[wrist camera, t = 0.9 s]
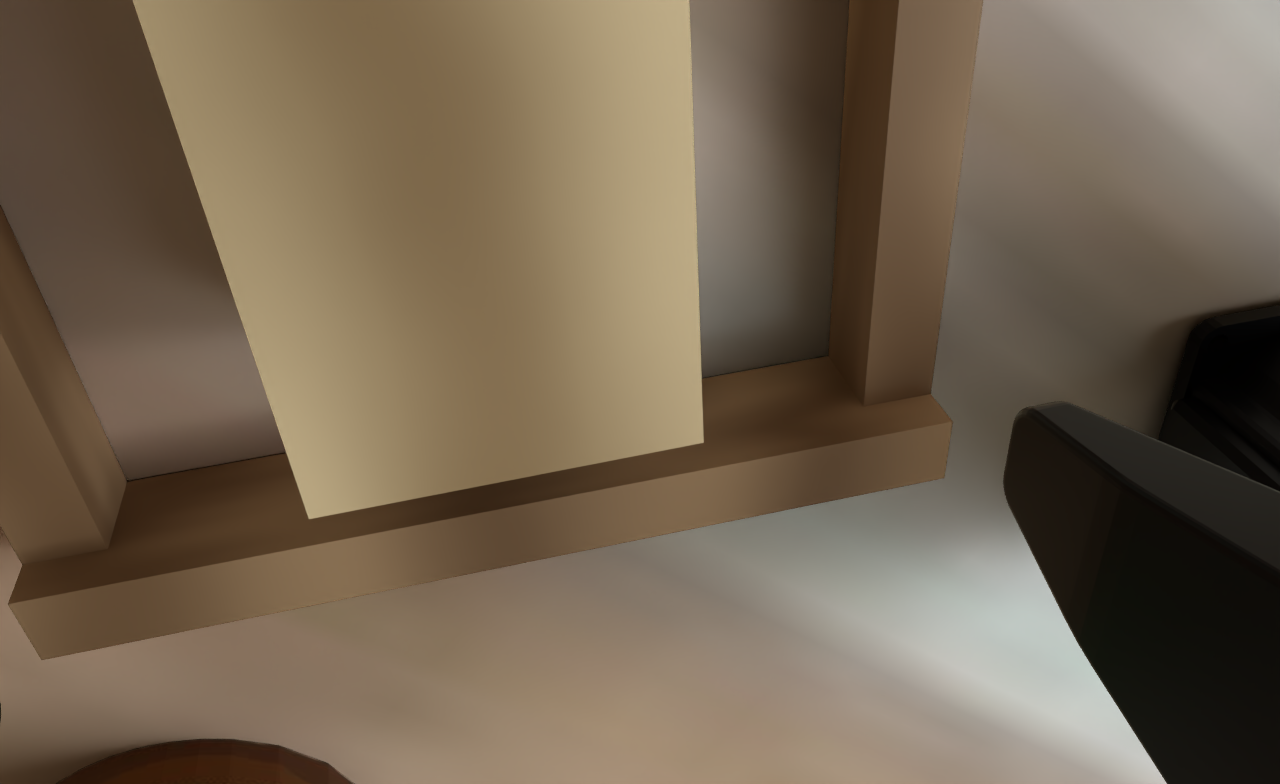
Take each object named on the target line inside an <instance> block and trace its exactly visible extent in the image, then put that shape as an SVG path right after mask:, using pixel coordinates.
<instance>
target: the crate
mask: <svg viewBox="0 0 1280 784" xmlns="http://www.w3.org/2000/svg"><path fill="white" fill-rule="evenodd" d="M133 3H134V6H135V9H136V12H137V15H138V18H139V21H140V24H141V27H142V30H143V33H144V35H145V38H146V41H147V44H148V47H149V50H150V53H151V56H152V59H153V62H154V65H155V68H156V71H157V74H158V77H159V80H160V83H161V85H162V88H163V91H164V94H165V97H166V100H167V103H168V106H169V109H170V112H171V115H172V118H173V121H174V124H175V127H176V130H177V133H178V135H179V138H180V141H181V144H182V147H183V150H184V153H185V156H186V159H187V162H188V165H189V168H190V171H191V174H192V177H193V180H194V183H195V186H196V188H197V191H198V194H199V197H200V200H201V203H202V206H203V209H204V212H205V215H206V218H207V221H208V224H209V227H210V230H211V233H212V236H213V238H214V241H215V244H216V247H217V250H218V253H219V256H220V259H221V262H222V265H223V268H224V271H225V274H226V277H227V280H228V283H229V286H230V288H231V291H232V294H233V297H234V300H235V303H236V306H237V309H238V312H239V315H240V318H241V321H242V324H243V327H244V330H245V333H246V336H247V339H248V341H249V344H250V347H251V350H252V353H253V356H254V359H255V362H256V365H257V368H258V371H259V374H260V377H261V380H262V383H263V386H264V389H265V391H266V394H267V397H268V400H269V403H270V406H271V409H272V412H273V415H274V418H275V421H276V424H277V427H278V430H279V433H280V436H281V439H282V441H283V444H284V447H285V450H286V453H287V456H288V459H289V462H290V465H291V468H292V471H293V474H294V477H295V480H296V483H297V486H298V489H299V491H300V494H301V497H302V500H303V503H304V506H305V509H306V512H307V515H308V518H309V519H313V518H318V517H323V516H328V515H334V514H339V513H344V512H349V511H354V510H359V509H365V508H370V507H375V506H380V505H385V504H390V503H395V502H401V501H406V500H411V499H416V498H421V497H426V496H432V495H437V494H442V493H447V492H452V491H457V490H462V489H468V488H473V487H478V486H483V485H488V484H493V483H499V482H504V481H509V480H514V479H519V478H524V477H530V476H535V475H540V474H545V473H550V472H555V471H560V470H566V469H571V468H576V467H581V466H586V465H591V464H597V463H602V462H607V461H612V460H617V459H622V458H627V457H633V456H638V455H643V454H648V453H653V452H658V451H664V450H669V449H674V448H679V447H684V446H689V445H695V444H700V443H704V437H703V406H702V375H701V344H700V314H699V283H698V252H697V221H696V191H695V160H694V129H693V98H692V68H691V37H690V6H689V0H133Z"/></svg>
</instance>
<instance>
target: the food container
mask: <svg viewBox="0 0 1280 784" xmlns="http://www.w3.org/2000/svg"><path fill="white" fill-rule="evenodd" d="M56 784H354V783H353V782H352V781H350V780H349V779H348V778H346V777H345V776H344V775H342V774H341V773H340V772H339V771H337V770H336V769H335V768H333V767H332V766H331V765H329V764H328V763H326V762H323V761H320V760H317V759H315V758H312V757H309V756H306V755H303V754H301V753H298V752H295V751H292V750H290V749H287V748H284V747H281V746H278V745H270V744H263V743H255V742H248V741H240V740H231V739H199V740H188V741H178V742H168V743H163V744H158V745H153V746H148V747H142V748H137V749H134V750H131V751H127V752H124V753H121V754H118V755H114V756H111V757H108V758H105V759H103V760H101V761H98V762H96V763H94V764H92V765H89V766H87V767H85V768H82V769H80V770H78V771H77V772H75V773H73V774H72V775H70V776H68V777H67V778H65V779H63V780H61V781H60V782H58V783H56Z"/></svg>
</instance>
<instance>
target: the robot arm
mask: <svg viewBox="0 0 1280 784" xmlns="http://www.w3.org/2000/svg"><path fill="white" fill-rule="evenodd" d="M1003 484H1004V492H1005V496H1006V500H1007V502H1008V505H1009V507H1010V509H1011V511H1012V513H1013V515H1014V517H1015V519H1016V521H1017V523H1018V525H1019V527H1020V529H1021V531H1022V533H1023V535H1024V537H1025V539H1026V541H1027V543H1028V545H1029V547H1030V549H1031V551H1032V554H1033V556H1034V558H1035V560H1036V562H1037V564H1038V566H1039V568H1040V570H1041V572H1042V574H1043V576H1044V578H1045V580H1046V582H1047V584H1048V586H1049V588H1050V590H1051V592H1052V594H1053V596H1054V598H1055V600H1056V602H1057V604H1058V606H1059V608H1060V610H1061V612H1062V614H1063V616H1064V618H1065V620H1066V622H1067V624H1068V626H1069V628H1070V629H1071V631H1072V633H1073V635H1074V637H1075V639H1076V641H1077V642H1078V644H1079V646H1080V647H1081V649H1082V651H1083V652H1084V654H1085V656H1086V657H1087V659H1088V661H1089V662H1090V664H1091V666H1092V667H1093V669H1094V670H1095V672H1096V673H1097V675H1098V677H1099V678H1100V680H1101V681H1102V683H1103V684H1104V686H1105V687H1106V689H1107V691H1108V692H1109V694H1110V695H1111V697H1112V698H1113V700H1114V702H1115V703H1116V705H1117V706H1118V708H1119V709H1120V711H1121V712H1122V714H1123V716H1124V717H1125V719H1126V720H1127V722H1128V723H1129V725H1130V727H1131V728H1132V730H1133V731H1134V733H1135V734H1136V736H1137V737H1138V739H1139V741H1140V742H1141V744H1142V745H1143V747H1144V748H1145V750H1146V752H1147V753H1148V755H1149V756H1150V758H1151V759H1152V761H1153V762H1154V764H1155V766H1156V767H1157V769H1158V770H1159V772H1160V773H1161V775H1162V777H1163V778H1164V780H1165V781H1166V783H1167V784H1280V305H1278V306H1272V307H1267V308H1262V309H1256V310H1251V311H1245V312H1240V313H1234V314H1229V315H1224V316H1218V317H1213V318H1210V319H1207V320H1205V321H1203V322H1202V323H1200V324H1199V325H1197V327H1196V328H1195V329H1194V330H1193V331H1192V333H1191V335H1190V337H1189V339H1188V342H1187V346H1186V349H1185V352H1184V356H1183V359H1182V362H1181V365H1180V369H1179V372H1178V375H1177V379H1176V382H1175V385H1174V389H1173V392H1172V395H1171V399H1170V402H1169V405H1168V408H1167V412H1166V415H1165V418H1164V422H1163V425H1162V428H1161V432H1160V435H1159V438H1158V440H1156V439H1154V438H1151V437H1149V436H1147V435H1144V434H1142V433H1140V432H1137V431H1135V430H1133V429H1130V428H1128V427H1125V426H1123V425H1121V424H1118V423H1116V422H1114V421H1111V420H1109V419H1106V418H1104V417H1102V416H1099V415H1097V414H1095V413H1092V412H1090V411H1087V410H1085V409H1083V408H1080V407H1078V406H1076V405H1073V404H1071V403H1068V402H1062V401H1061V402H1052V403H1047V404H1042V405H1037V406H1032V407H1027V408H1025V409H1023V410H1021V411H1020V412H1019V413H1018V414H1017V416H1016V418H1015V420H1014V424H1013V428H1012V434H1011V439H1010V445H1009V450H1008V455H1007V461H1006V466H1005V471H1004V479H1003ZM0 721H1V704H0Z"/></svg>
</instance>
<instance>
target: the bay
mask: <svg viewBox="0 0 1280 784" xmlns="http://www.w3.org/2000/svg"><path fill="white" fill-rule="evenodd" d="M982 5H983V0H850V1H849V18H848V35H847V51H846V68H845V85H844V101H843V118H842V135H841V152H840V168H839V185H838V202H837V218H836V235H835V252H834V268H833V285H832V302H831V318H830V335H829V352H828V356H825V357H820V358H814V359H808V360H803V361H797V362H792V363H786V364H781V365H775V366H769V367H764V368H758V369H753V370H747V371H742V372H736V373H730V374H725V375H719V376H714V377H708V378H703V379H702V406H703V437H704V443H700V444H695V445H689V446H684V447H679V448H674V449H669V450H664V451H658V452H653V453H648V454H643V455H638V456H633V457H627V458H622V459H617V460H612V461H607V462H602V463H597V464H591V465H586V466H581V467H576V468H571V469H566V470H560V471H555V472H550V473H545V474H540V475H535V476H530V477H524V478H519V479H514V480H509V481H504V482H499V483H493V484H488V485H483V486H478V487H473V488H468V489H462V490H457V491H452V492H447V493H442V494H437V495H432V496H426V497H421V498H416V499H411V500H406V501H401V502H395V503H390V504H385V505H380V506H375V507H370V508H365V509H359V510H354V511H349V512H344V513H339V514H334V515H328V516H323V517H318V518H313V519H309V518H308V515H307V512H306V509H305V506H304V503H303V500H302V497H301V494H300V491H299V489H298V486H297V483H296V480H295V477H294V474H293V471H292V468H291V465H290V462H289V459H288V456H287V453H285V454H279V455H273V456H268V457H262V458H257V459H251V460H246V461H240V462H234V463H229V464H223V465H218V466H212V467H207V468H201V469H195V470H190V471H184V472H179V473H173V474H168V475H162V476H156V477H151V478H145V479H140V480H134V481H129V482H127V480H126V478H125V476H124V474H123V472H122V470H121V467H120V465H119V463H118V461H117V459H116V456H115V454H114V452H113V450H112V448H111V445H110V443H109V441H108V439H107V437H106V435H105V432H104V430H103V428H102V426H101V424H100V421H99V419H98V417H97V415H96V413H95V411H94V408H93V406H92V404H91V402H90V400H89V397H88V395H87V393H86V391H85V389H84V387H83V384H82V382H81V380H80V378H79V376H78V373H77V371H76V369H75V367H74V365H73V363H72V360H71V358H70V356H69V354H68V352H67V349H66V347H65V345H64V343H63V341H62V339H61V336H60V334H59V332H58V330H57V328H56V325H55V323H54V321H53V319H52V317H51V315H50V312H49V310H48V308H47V306H46V304H45V301H44V299H43V297H42V295H41V293H40V291H39V288H38V286H37V284H36V282H35V280H34V277H33V275H32V273H31V271H30V269H29V267H28V264H27V262H26V260H25V258H24V256H23V253H22V251H21V249H20V247H19V245H18V243H17V240H16V238H15V236H14V234H13V232H12V229H11V227H10V225H9V223H8V221H7V219H6V216H5V214H4V212H3V210H2V208H1V205H0V526H1V528H2V530H3V532H4V533H5V535H6V537H7V539H8V540H9V542H10V544H11V546H12V547H13V549H14V551H15V553H16V554H17V556H18V558H19V560H20V561H21V563H22V568H21V571H20V573H19V576H18V579H17V581H16V584H15V587H14V589H13V592H12V595H11V597H10V600H9V603H8V605H9V607H10V608H11V610H12V612H13V613H14V615H15V617H16V618H17V620H18V622H19V623H20V625H21V627H22V628H23V630H24V632H25V633H26V635H27V637H28V638H29V640H30V642H31V643H32V645H33V647H34V648H35V650H36V652H37V653H38V655H39V657H40V658H41V660H45V659H50V658H55V657H60V656H65V655H70V654H75V653H80V652H85V651H90V650H95V649H99V648H104V647H109V646H114V645H119V644H124V643H129V642H134V641H139V640H144V639H149V638H154V637H159V636H164V635H169V634H174V633H179V632H184V631H189V630H194V629H199V628H204V627H209V626H213V625H218V624H223V623H228V622H233V621H238V620H243V619H248V618H253V617H258V616H263V615H268V614H273V613H278V612H283V611H288V610H293V609H298V608H303V607H308V606H313V605H318V604H323V603H327V602H332V601H337V600H342V599H347V598H352V597H357V596H362V595H367V594H372V593H377V592H382V591H387V590H392V589H397V588H402V587H407V586H412V585H417V584H422V583H427V582H432V581H437V580H441V579H446V578H451V577H456V576H461V575H466V574H471V573H476V572H481V571H486V570H491V569H496V568H501V567H506V566H511V565H516V564H521V563H526V562H531V561H536V560H541V559H546V558H550V557H555V556H560V555H565V554H570V553H575V552H580V551H585V550H590V549H595V548H600V547H605V546H610V545H615V544H620V543H625V542H630V541H635V540H640V539H645V538H650V537H655V536H660V535H664V534H669V533H674V532H679V531H684V530H689V529H694V528H699V527H704V526H709V525H714V524H719V523H724V522H729V521H734V520H739V519H744V518H749V517H754V516H759V515H764V514H769V513H774V512H778V511H783V510H788V509H793V508H798V507H803V506H808V505H813V504H818V503H823V502H828V501H833V500H838V499H843V498H848V497H853V496H858V495H863V494H868V493H873V492H878V491H883V490H888V489H892V488H897V487H902V486H907V485H912V484H917V483H922V482H927V481H932V480H937V479H942V478H944V476H945V470H946V463H947V457H948V450H949V443H950V437H951V430H952V424H953V421H952V420H951V419H950V418H949V416H948V415H947V414H946V413H945V411H944V410H943V409H942V408H941V406H940V405H939V404H938V403H937V401H936V400H935V399H934V398H933V396H932V395H931V388H932V380H933V373H934V365H935V358H936V350H937V343H938V335H939V328H940V320H941V313H942V305H943V298H944V290H945V283H946V275H947V268H948V260H949V253H950V245H951V238H952V230H953V223H954V215H955V208H956V200H957V193H958V185H959V178H960V170H961V163H962V155H963V148H964V140H965V133H966V125H967V118H968V110H969V103H970V95H971V88H972V80H973V73H974V65H975V58H976V50H977V43H978V35H979V28H980V20H981V13H982Z"/></svg>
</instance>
